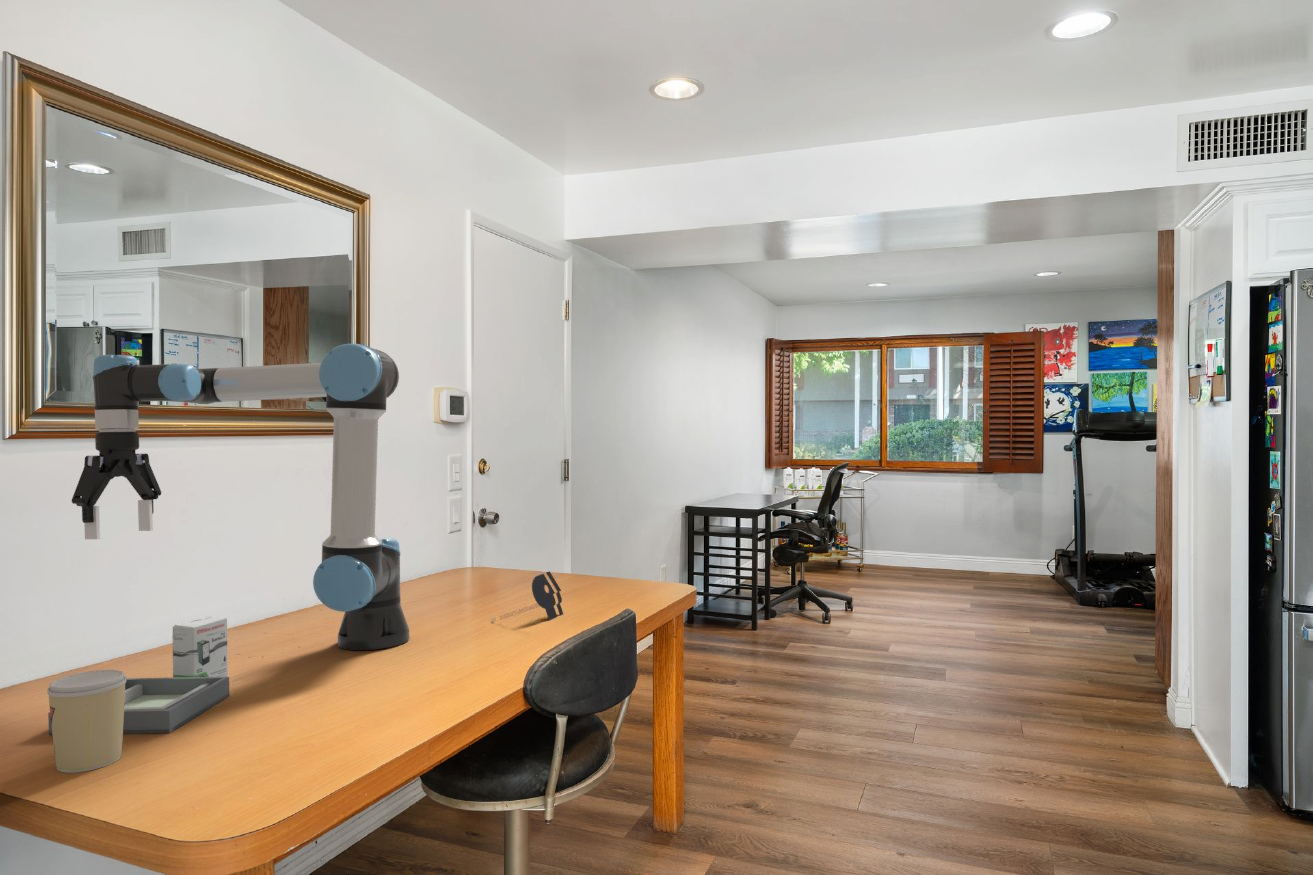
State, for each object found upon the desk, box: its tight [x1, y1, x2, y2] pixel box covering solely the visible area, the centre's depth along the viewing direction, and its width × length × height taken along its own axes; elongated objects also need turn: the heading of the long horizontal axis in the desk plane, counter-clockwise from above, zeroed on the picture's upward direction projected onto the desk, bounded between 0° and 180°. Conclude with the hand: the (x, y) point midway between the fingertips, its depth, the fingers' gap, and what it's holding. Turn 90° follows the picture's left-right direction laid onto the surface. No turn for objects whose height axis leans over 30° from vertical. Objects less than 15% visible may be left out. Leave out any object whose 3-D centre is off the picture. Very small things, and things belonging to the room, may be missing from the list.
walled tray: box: [48, 676, 230, 736], centre depth 139 cm, size 19×18×4 cm
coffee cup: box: [46, 669, 127, 774], centre depth 119 cm, size 9×9×12 cm
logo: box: [490, 570, 564, 623], centre depth 206 cm, size 17×18×11 cm
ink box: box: [172, 616, 229, 678], centre depth 156 cm, size 9×5×12 cm, turn 165°
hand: (120, 534), depth 170 cm, fingers open, 13 cm apart
